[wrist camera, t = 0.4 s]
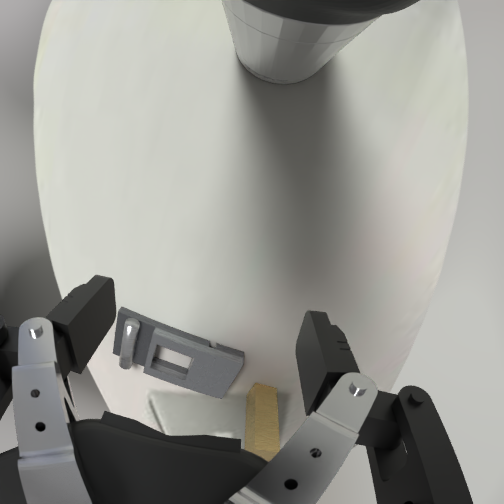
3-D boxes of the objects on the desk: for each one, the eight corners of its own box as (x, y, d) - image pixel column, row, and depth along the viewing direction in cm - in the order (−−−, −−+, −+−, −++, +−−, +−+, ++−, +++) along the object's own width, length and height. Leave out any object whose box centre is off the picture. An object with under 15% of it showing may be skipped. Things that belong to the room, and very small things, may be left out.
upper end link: (158, 321, 36) (153, 332, 34) (243, 352, 38) (243, 364, 36) (147, 361, 40) (143, 372, 38) (222, 387, 42) (221, 399, 39)
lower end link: (121, 306, 36) (112, 320, 33) (209, 341, 37) (206, 357, 35) (115, 348, 39) (108, 362, 36) (192, 378, 41) (189, 393, 38)
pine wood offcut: (255, 382, 41) (254, 448, 30) (276, 388, 42) (280, 452, 31) (246, 395, 42) (244, 457, 31) (266, 400, 43) (268, 461, 32)
